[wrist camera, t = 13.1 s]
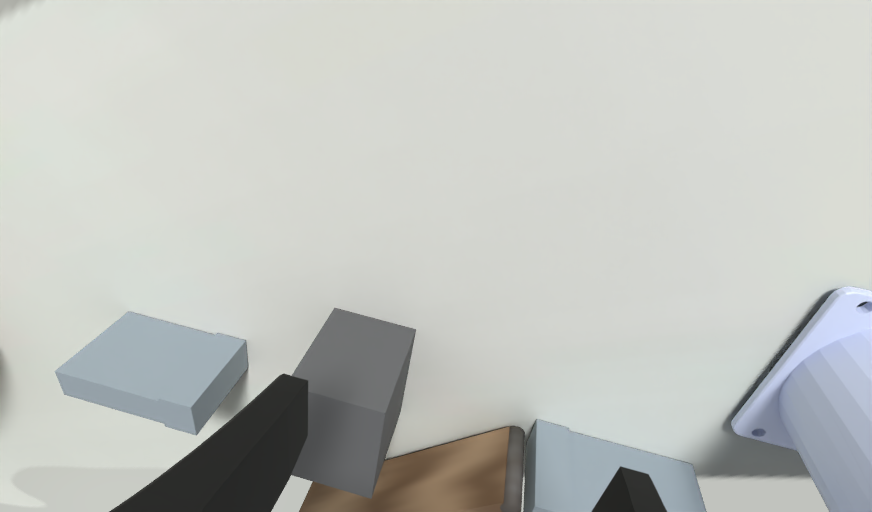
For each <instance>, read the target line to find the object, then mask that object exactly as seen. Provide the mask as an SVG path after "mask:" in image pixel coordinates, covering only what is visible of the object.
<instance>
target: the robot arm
mask: <svg viewBox="0 0 872 512" xmlns="http://www.w3.org/2000/svg"><path fill="white" fill-rule="evenodd" d="M866 301H868V302H867V303H866V304H865V305H863V306H860V307H857V306H858V305H859V304H860V303H862V302H866ZM731 426H732V428H733V431H734V432H735V433H736V434H737V435H740V436H743V437H747V438H751V439H755V440H758V441H762V442H766V443H770V444H774V445H777V446H781V447H785V448H789V449H793V450H796V451H798V453H799V455H800V456H801V458H802V460H803V462H804V464H805V466H806V468H807V470H808V472H809V474H810V475H811V477H812V479H813V481H814V483H815V485H816V487H817V489H818V490H819V492H820V494H821V496H822V498H823V500H824V502H825V504H826V506H827V508H828V509H829V512H872V291H869V290H865V289H861V288H856V287H843V288H840V289H837V290H835V291H834V292H833V293H832V294H831V295H830V296H829V297H828V298H827V300H826V301H825V302H824V304H823V305H822V306H821V307H820V309H819V310H818V311H817V312H816V314H815V315H814V316H813V318H812V319H811V320H810V321H809V323H808V324H807V325H806V326H805V328H804V329H803V330H802V332H801V333H800V334H799V335H798V337H797V338H796V339H795V340H794V342H793V343H792V344H791V346H790V347H789V348H788V349H787V351H786V352H785V353H784V355H783V356H782V357H781V358H780V360H779V361H778V362H777V363H776V365H775V366H774V367H773V369H772V370H771V371H770V372H769V374H768V375H767V376H766V377H765V379H764V380H763V381H762V383H761V384H760V385H759V386H758V388H757V389H756V390H755V391H754V393H753V394H752V395H751V397H750V398H749V399H748V400H747V402H746V403H745V404H744V405H743V407H742V408H741V409H740V411H739V412H738V413H737V414H736V416H735V417H734V418H733V420H732V422H731ZM758 428H759V429H758ZM307 436H308V380H305V379H301V378H297V377H294V376H290V375H287V374H282V375H280V376H279V377H278V378H276V379H275V380H274V381H273V382H272V383H271V384H270V385H269V386H268V387H267V388H266V389H265V390H264V391H262V392H261V393H260V394H259V395H258V396H257V397H256V398H255V399H254V400H253V401H251V402H250V403H249V404H248V405H247V406H246V407H245V408H244V409H242V410H241V411H240V412H239V413H238V414H237V415H236V416H234V417H233V418H232V419H231V420H230V421H229V422H227V423H226V424H225V425H224V426H223V427H221V428H220V429H219V430H218V431H217V432H215V433H214V434H213V435H212V436H211V437H209V438H208V439H207V440H206V441H204V442H203V443H202V444H201V445H200V446H198V447H197V448H196V449H195V450H193V451H192V452H191V453H190V454H188V455H187V456H186V457H184V458H183V459H182V460H180V461H179V462H178V463H176V464H175V465H174V466H172V467H171V468H170V469H169V470H167V471H166V472H165V473H163V474H162V475H161V476H160V477H158V478H157V479H155V480H154V481H153V482H151V483H150V484H149V485H147V486H146V487H144V488H143V489H142V490H140V491H139V492H137V493H136V494H135V495H133V496H132V497H130V498H129V499H127V500H126V501H124V502H123V503H122V504H120V505H119V506H117V507H116V508H114V509H113V510H111V511H110V512H271V511H272V509H273V507H274V505H275V503H276V502H277V500H278V498H279V496H280V494H281V493H282V491H283V489H284V487H285V485H286V484H287V482H288V480H289V478H290V476H291V474H292V471H293V469H294V467H295V464H296V462H297V460H298V458H299V455H300V453H301V451H302V448H303V446H304V443H305V441H306V439H307ZM592 512H667V510H666V508H665V506H664V504H663V502H662V500H661V498H660V496H659V494H658V492H657V490H656V487H655V485H654V483H653V481H652V479H651V478H650V476H649V474H646V473H643V472H639V471H636V470H632V469H628V468H625V467H621V466H620V467H619V469H618V470H617V472H616V474H615V475H614V477H613V478H612V480H611V482H610V483H609V485H608V486H607V488H606V489H605V491H604V493H603V494H602V496H601V497H600V499H599V500H598V502H597V504H596V505H595V507H594V508H593V510H592Z"/></svg>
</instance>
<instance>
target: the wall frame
mask: <svg viewBox="0 0 872 512" xmlns="http://www.w3.org/2000/svg"><path fill="white" fill-rule="evenodd" d="M247 368H248V360H247V349H246V341H245V340H242V339H238V338H234V337H231V336H227V335H223V334H220V333H217V334H216V335H213V334H210V333H206V332H202V331H199V330H195V329H191V328H188V327H184V326H180V325H177V324H173V323H169V322H165V321H162V320H158V319H154V318H151V317H147V316H143V315H140V314H136V313H132V312H127V313H126V314H125V315H124V316H122V317H121V318H120V319H119V320H117V321H116V322H115V323H114V324H113V325H111V326H110V327H109V328H108V329H106V330H105V331H104V332H103V333H101V334H100V335H99V336H98V337H96V338H95V339H94V340H93V341H92V342H90V343H89V344H88V345H87V346H85V347H84V348H83V349H82V350H80V351H79V352H78V353H77V354H75V355H74V356H73V357H72V358H71V359H69V360H68V361H67V362H66V363H64V364H63V365H62V366H61V367H59V368H58V369H57V370H56V371H55V373H56V375H57V378H58V380H59V383H60V385H61V387H62V390H63V392H64V395H68V396H71V397H75V398H78V399H82V400H85V401H88V402H92V403H95V404H99V405H102V406H106V407H109V408H112V409H116V410H119V411H123V412H126V413H130V414H133V415H136V416H140V417H143V418H147V419H150V420H154V421H157V422H160V423H164V424H165V426H166V427H169V428H172V429H176V430H179V431H183V432H186V433H190V434H193V435H197V434H198V433H199V431H200V430H201V429H202V428H203V426H204V425H205V424H206V422H207V421H208V420H209V418H210V417H211V416H212V414H213V413H214V412H215V410H216V409H217V408H218V406H219V405H220V404H221V402H222V401H223V400H224V398H225V397H226V396H227V394H228V393H229V392H230V391H231V389H232V388H233V387H234V385H235V384H236V383H237V381H238V380H239V379H240V377H241V376H242V375H243V373H244V372H245V371H246V369H247ZM620 466H621V467H625V468H628V469H632V470H636V471H639V472H643V473H646V474H649V476H650V478H651V479H652V481H653V483H654V485H655V487H656V490H657V492H658V494H659V496H660V498H661V500H662V502H663V504H664V506H665V508H666V510H667V512H706V509H705V505H704V502H703V498H702V495H701V492H700V488H699V485H698V482H697V478H696V475H695V472H694V468H693V465H692V464H689V463H686V462H682V461H678V460H675V459H671V458H667V457H663V456H660V455H656V454H652V453H649V452H645V451H641V450H638V449H634V448H630V447H627V446H623V445H619V444H616V443H612V442H608V441H604V440H601V439H597V438H593V437H590V436H586V435H582V434H579V433H575V432H571V431H569V428H567V427H563V426H560V425H556V424H552V423H549V422H545V421H541V420H536V422H535V425H534V427H533V429H532V432H531V434H530V436H529V439H528V441H527V443H526V464H525V488H524V511H523V512H592V510H593V508H594V507H595V505H596V504H597V502H598V500H599V499H600V497H601V496H602V494H603V493H604V491H605V489H606V488H607V486H608V485H609V483H610V482H611V480H612V478H613V477H614V475H615V474H616V472H617V470H618V469H619V467H620Z"/></svg>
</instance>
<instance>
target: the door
mask: <svg viewBox="0 0 872 512" xmlns="http://www.w3.org/2000/svg"><path fill="white" fill-rule="evenodd" d="M524 439H525V432H524V430H523V429H522V428H520V427H516V426H513V427H506V428H502V429H498V430H495V431H491V432H488V433H484V434H480V435H477V436H473V437H469V438H466V439H462V440H459V441H455V442H451V443H448V444H444V445H440V446H437V447H433V448H429V449H426V450H422V451H419V452H415V453H411V454H408V455H404V456H400V457H397V458H393V459H389V460H386V461H384V462H383V465H382V468H381V471H380V474H379V477H378V480H377V483H376V486H375V489H374V492H373V495H372V498H371V499H370V498H366V497H363V496H360V495H357V494H353V493H350V492H347V491H343V490H340V489H337V488H333V487H330V486H327V485H323V484H320V483H317V482H313V483H312V484H311V487H310V489H309V491H308V493H307V496H306V498H305V500H304V502H303V504H302V506H301V508H300V511H299V512H521V503H522V482H523V460H524Z"/></svg>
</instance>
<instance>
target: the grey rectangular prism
mask: <svg viewBox="0 0 872 512" xmlns="http://www.w3.org/2000/svg"><path fill="white" fill-rule="evenodd" d="M415 332H416V329H412V328H408V327H405V326H401V325H397V324H393V323H390V322H386V321H382V320H379V319H375V318H371V317H367V316H364V315H360V314H356V313H352V312H349V311H345V310H341V309H337V308H334V310H333V311H332V313H331V314H330V316H329V318H328V319H327V321H326V322H325V324H324V326H323V327H322V329H321V330H320V332H319V333H318V335H317V337H316V338H315V340H314V341H313V343H312V345H311V346H310V348H309V349H308V351H307V352H306V354H305V356H304V357H303V359H302V360H301V362H300V363H299V365H298V367H297V368H296V370H295V371H294V373H293V375H292V376H294V377H297V378H301V379H305V380H308V436H307V439H306V441H305V443H304V446H303V448H302V451H301V453H300V455H299V458H298V460H297V462H296V464H295V467H294V469H293V471H292V474H291V475H294V476H297V477H300V478H303V479H307V480H310V481H313V482H317V483H320V484H323V485H327V486H330V487H333V488H337V489H340V490H343V491H347V492H350V493H353V494H357V495H360V496H363V497H366V498H370V499H371V498H372V495H373V492H374V489H375V486H376V483H377V480H378V477H379V474H380V471H381V468H382V465H383V462H384V459H385V456H386V453H387V450H388V447H389V444H390V441H391V438H392V436H393V433H394V430H395V427H396V424H397V421H398V418H399V415H400V411H401V406H402V401H403V395H404V390H405V385H406V379H407V374H408V369H409V364H410V358H411V353H412V348H413V343H414V337H415Z"/></svg>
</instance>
